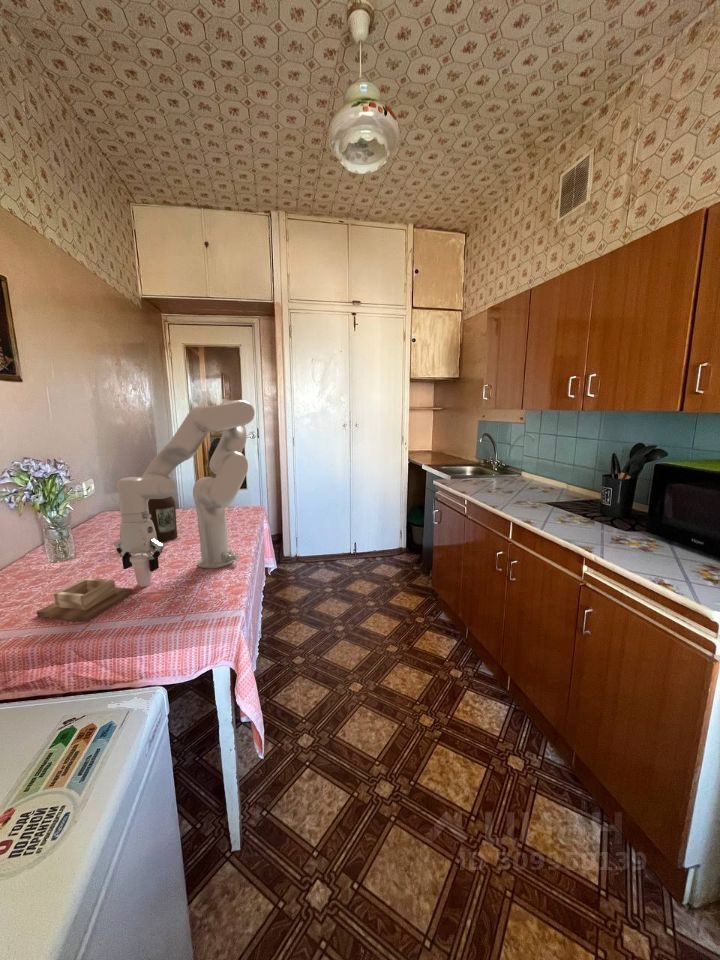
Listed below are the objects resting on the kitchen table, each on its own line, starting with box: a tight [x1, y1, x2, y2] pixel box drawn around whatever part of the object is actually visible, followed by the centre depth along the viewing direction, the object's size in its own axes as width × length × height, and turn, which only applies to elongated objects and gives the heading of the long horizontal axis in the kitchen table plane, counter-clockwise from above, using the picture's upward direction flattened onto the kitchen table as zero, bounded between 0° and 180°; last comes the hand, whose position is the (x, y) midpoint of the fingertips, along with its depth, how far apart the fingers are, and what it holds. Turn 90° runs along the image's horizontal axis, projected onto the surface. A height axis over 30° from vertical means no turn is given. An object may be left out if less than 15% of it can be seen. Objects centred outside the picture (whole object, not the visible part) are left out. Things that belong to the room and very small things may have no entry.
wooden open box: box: [36, 577, 134, 623], centre depth 109 cm, size 16×16×6 cm
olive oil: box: [148, 495, 178, 543], centre depth 162 cm, size 11×11×25 cm
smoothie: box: [130, 553, 153, 588], centre depth 120 cm, size 6×6×14 cm
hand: (141, 568), depth 120 cm, fingers open, 9 cm apart
